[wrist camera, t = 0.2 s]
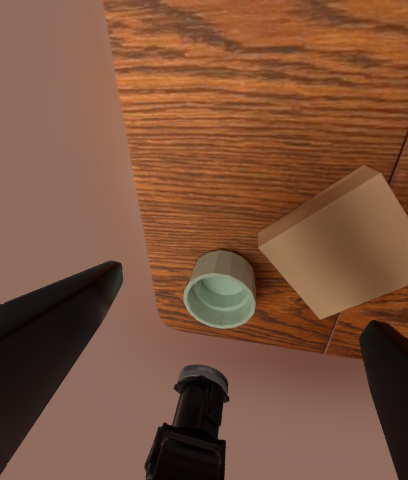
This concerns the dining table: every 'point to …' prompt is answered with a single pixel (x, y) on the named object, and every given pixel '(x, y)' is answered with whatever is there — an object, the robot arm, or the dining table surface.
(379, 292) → the plate
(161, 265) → the dining table surface
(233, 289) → the bowl
